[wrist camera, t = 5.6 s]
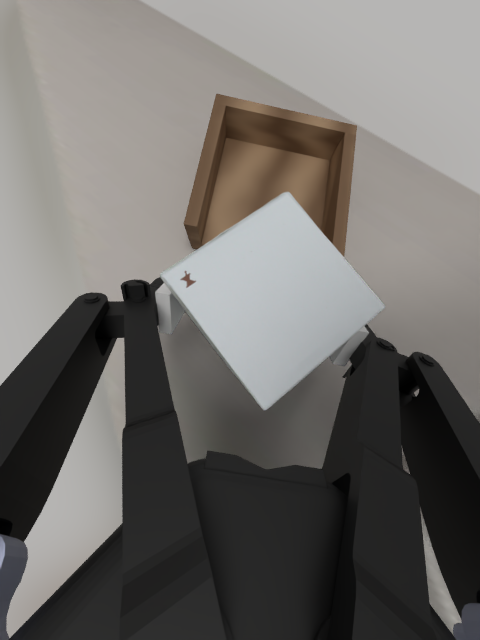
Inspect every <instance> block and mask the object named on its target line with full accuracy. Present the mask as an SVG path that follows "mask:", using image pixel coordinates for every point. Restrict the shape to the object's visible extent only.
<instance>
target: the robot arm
mask: <svg viewBox="0 0 480 640" xmlns="http://www.w3.org/2000/svg"><path fill="white" fill-rule="evenodd" d="M121 290H122V294H123V299H124V301H121V302H108V298H107V296H106V295H104V294H102V293H87V294H84V295H81V296H79V297H78V298H77V299H75V301H74V302H73V303H72V304H71V305H70V306H69V308H68V309H67V310H66V311H65V312H64V313H63V314H62V316H61V317H60V318H59V319H58V320H57V321H56V322H55V324H54V325H53V326H52V327H51V328H50V329H49V331H48V332H47V333H46V334H45V335H44V336H43V337H42V339H41V340H40V341H39V342H38V343H37V344H36V345H35V347H34V348H33V349H32V350H31V351H30V352H29V353H28V355H27V356H26V357H25V358H24V359H23V360H22V362H21V363H20V364H19V365H18V366H17V367H16V368H15V370H14V371H13V372H12V373H11V374H10V375H9V377H8V378H7V379H6V380H5V381H4V382H3V383H2V385H1V386H0V640H480V424H479V422H478V421H477V419H476V418H475V416H474V415H473V413H472V412H471V410H470V409H469V407H468V406H467V404H466V403H465V401H464V400H463V398H462V397H461V395H460V394H459V392H458V391H457V389H456V388H455V386H454V385H453V383H452V382H451V380H450V379H449V378H448V376H447V375H446V373H445V372H444V370H443V369H442V367H441V366H440V365H439V363H438V362H437V361H435V360H434V359H433V358H432V357H430V356H428V355H425V354H423V353H420V352H414V353H413V354H412V355H411V356H410V357H407V356H404V355H401V354H399V353H397V350H396V348H395V347H394V346H393V345H392V344H391V343H390V342H388V341H386V340H384V339H381V338H377V337H376V336H375V334H374V333H373V332H372V330H371V329H370V328H369V326H368V325H367V324H366V325H365V326H364V327H363V328H362V329H360V330H359V331H358V332H357V333H356V334H355V335H354V336H352V337H351V338H350V339H349V340H348V341H347V342H346V343H344V344H343V345H342V346H341V347H340V348H339V349H338V350H336V351H335V352H334V353H333V354H332V355H331V356H330V358H331V361H332V363H333V364H336V365H342V366H345V365H346V363H347V362H348V361H349V359H350V361H351V363H352V365H351V367H350V368H349V369H348V370H347V372H346V373H345V374H344V376H343V378H345V377H346V376H347V377H346V381H345V384H344V388H343V392H342V396H341V400H340V403H339V407H338V411H337V415H336V419H335V422H334V426H333V430H332V434H331V438H330V441H329V445H328V449H327V453H326V457H325V460H324V464H323V467H322V469H317V468H311V467H304V466H298V465H292V466H287V467H281V468H275V469H269V470H267V469H263V468H261V467H259V466H257V465H255V464H253V463H251V462H249V461H247V460H245V459H243V458H241V457H239V456H236V455H231V454H225V453H219V452H212V451H207V456H206V459H200V460H196V461H193V462H190V463H188V464H187V460H186V455H185V450H184V446H183V441H182V436H181V432H180V427H179V422H178V418H177V414H176V411H175V410H174V406H173V401H172V396H171V391H170V386H169V381H168V376H167V372H166V367H165V362H164V357H163V352H162V347H161V342H160V338H159V333H158V328H157V326H159V332H161V333H167V334H172V333H173V331H174V329H175V328H176V326H177V324H178V323H179V321H180V319H181V317H182V316H183V314H184V312H185V310H184V309H183V307H182V306H181V305H180V303H179V302H178V301H177V299H176V298H175V297H174V295H173V294H172V293H171V291H170V290H169V288H168V287H167V286H166V284H165V283H164V282H163V280H162V279H161V277H160V278H157V279H155V280H154V281H153V282H152V283H151V284H149V283H148V282H146V281H143V280H129V281H126V282H124V283H122V285H121ZM117 338H124V342H125V402H126V425H125V428H124V429H123V436H122V464H123V465H122V470H123V471H122V476H123V477H122V478H123V479H122V484H123V485H122V494H123V523H122V524H121V525H120V526H119V527H118V529H116V530H115V532H113V534H112V535H111V536H110V537H109V538H108V539H107V540H106V541H105V542H104V543H103V544H102V545H101V546H100V547H99V548H98V549H97V550H96V551H95V552H94V553H93V554H92V555H91V556H90V557H89V558H88V559H87V560H86V561H85V562H84V563H83V564H82V565H81V566H80V567H79V568H78V569H77V570H76V571H75V572H74V573H73V574H72V575H71V576H70V577H69V578H68V579H67V581H66V582H65V583H64V584H63V585H62V586H61V587H60V588H59V589H58V590H57V591H56V592H55V593H54V594H53V595H52V596H51V597H50V598H49V599H48V600H47V601H46V602H45V603H44V604H43V605H42V606H41V607H40V608H39V609H38V610H37V611H36V612H35V613H34V614H33V615H32V616H31V617H30V618H29V619H28V621H26V622H25V623H24V624H23V625H22V627H20V628H19V629H18V631H17V632H16V633H15V634H14V635H13V636H12V637H11V638H10V639H9V636H8V634H7V631H6V617H7V613H8V609H9V605H10V601H11V599H12V597H13V595H14V592H15V590H16V588H17V587H18V585H19V583H20V582H21V579H22V576H23V573H24V570H25V567H26V563H27V559H28V555H27V554H28V552H27V547H26V545H25V543H24V541H25V539H26V538H27V536H28V534H29V532H30V531H31V529H32V527H33V525H34V524H35V522H36V520H37V518H38V517H39V515H40V513H41V511H42V509H43V507H44V505H45V503H46V501H47V499H48V497H49V495H50V493H51V490H52V488H53V486H54V483H55V481H56V479H57V477H58V474H59V472H60V470H61V467H62V465H63V463H64V460H65V458H66V456H67V453H68V451H69V449H70V446H71V444H72V442H73V439H74V437H75V435H76V432H77V430H78V428H79V425H80V423H81V421H82V419H83V416H84V414H85V412H86V409H87V407H88V405H89V402H90V400H91V398H92V395H93V393H94V390H95V388H96V386H97V384H98V381H99V379H100V377H101V374H102V372H103V370H104V367H105V365H106V363H107V360H108V358H109V356H110V353H111V351H112V349H113V346H114V344H115V342H116V339H117ZM418 389H419V394H418V395H417V397H416V396H415V394H414V392H415V391H416V390H418ZM401 445H402V446H401ZM402 448H403V451H404V455H405V458H406V461H407V464H408V468H409V471H410V474H411V475H410V474H409V473H407V472H406V471H404V470H403V466H402ZM420 507H421V511H422V514H423V517H424V521H425V524H426V527H427V531H428V534H429V537H430V541H431V544H432V547H433V550H434V553H435V556H436V559H437V562H438V565H439V568H440V571H441V573H442V576H443V578H444V581H445V583H446V585H447V588H448V590H449V593H450V595H451V598H452V600H453V602H454V604H455V606H456V609H457V611H458V613H459V615H460V617H461V620H462V623H456V624H454V627H453V634H454V636H453V634H452V633H451V632H450V630H449V629H448V628H447V626H446V625H445V624H444V622H443V621H442V620H441V618H440V617H439V616H438V614H437V613H436V612H435V610H434V609H433V608H432V606H431V605H430V604H429V595H428V585H427V575H426V564H425V554H424V544H423V534H422V524H421V514H420Z"/></svg>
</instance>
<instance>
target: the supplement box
mask: <svg viewBox="0 0 480 640" xmlns="http://www.w3.org/2000/svg"><path fill="white" fill-rule="evenodd" d="M160 277H161V279H162V280H163V282H164V283H165V284H166V286H167V287H168V288H169V290H170V291H171V293H172V294H173V295H174V297H175V298H176V299H177V301H178V302H179V303H180V305H181V306H182V307H183V309H184V310H185V311H186V313H187V314H188V316H189V317H190V318H191V320H192V321H193V322H194V324H195V325H196V326H197V328H198V329H199V330H200V332H201V333H202V334H203V336H204V337H205V338H206V339H207V341H208V342H209V343H210V345H211V346H212V347H213V348H214V350H215V351H216V352H217V354H218V355H219V356H220V357H221V359H222V360H223V361H224V362H225V364H226V365H227V366H228V368H229V369H230V370H231V371H232V372H233V374H234V375H235V376H236V377H237V379H238V380H239V381H240V382H241V384H242V385H243V386H244V387H245V388H246V390H247V391H248V392H249V393H250V395H251V396H252V397H253V398H254V400H255V401H256V402H257V403H258V405H259V406H260V407H261V408H262V409H263V410H267V409H268V408H270V407H271V406H272V405H273V404H274V403H276V402H277V401H278V400H279V399H280V398H282V397H283V396H284V395H285V394H286V393H287V392H289V391H290V390H291V389H292V388H293V387H295V386H296V385H297V384H298V383H299V382H300V381H302V380H303V379H304V378H305V377H306V376H307V375H308V374H310V373H311V372H312V371H313V370H314V369H315V368H317V367H318V366H319V365H320V364H321V363H322V362H324V361H325V360H326V359H327V358H328V357H329V356H331V355H332V354H333V353H334V352H335V351H336V350H338V349H339V348H340V347H341V346H342V345H343V344H344V343H346V342H347V341H348V340H349V339H350V338H351V337H352V336H354V335H355V334H356V333H357V332H358V331H359V330H360V329H362V328H363V327H364V326H365V325H366V324H367V323H368V322H370V321H371V320H372V319H373V318H374V317H375V316H376V315H377V314H379V313H380V312H381V311H382V310H384V308H385V305H384V304H383V303H382V301H381V300H380V299H379V298H378V297H377V295H376V294H375V293H374V292H373V291H372V289H371V288H370V287H369V286H368V285H367V284H366V282H365V281H364V280H363V279H362V278H361V277H360V275H359V274H358V273H357V272H356V271H355V270H354V269H353V267H352V266H351V265H350V264H349V263H348V261H347V260H346V259H345V258H344V257H343V256H342V254H341V253H340V252H339V251H338V250H337V249H336V247H335V246H334V245H333V244H332V243H331V242H330V241H329V240H328V238H327V237H326V236H325V235H324V234H323V233H322V232H321V230H320V229H319V228H318V227H317V225H316V224H315V223H314V222H313V220H312V219H311V218H310V217H309V215H308V214H307V213H306V212H305V211H304V209H303V208H302V207H301V206H300V204H299V203H298V202H297V201H296V200H295V198H294V197H293V196H292V194H291V193H290V192H285V193H282V194H280V195H279V196H278V197H276V198H274V199H273V200H271V201H270V202H268V203H267V204H266V205H264V206H263V207H261V208H260V209H258V210H256V211H255V212H253V213H252V214H250V215H249V216H247V217H246V218H244V219H243V220H241V221H240V222H238V223H237V224H235V225H234V226H232V227H230V228H229V229H227V230H225V231H224V232H222V233H221V234H219V235H218V236H217V237H215V238H214V239H212V240H211V241H209V242H208V243H206V244H205V245H203V246H202V247H200V248H199V249H197V250H196V251H194V252H193V253H191V254H190V255H188V256H187V257H185V258H183V259H182V260H180V261H179V262H177V263H176V264H174V265H173V266H171V267H170V268H168V269H166V270H164V271H163V272H162V273H161V274H160Z"/></svg>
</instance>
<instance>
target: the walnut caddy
mask: <svg viewBox="0 0 480 640" xmlns="http://www.w3.org/2000/svg"><path fill="white" fill-rule="evenodd" d="M356 130H357V126H356V125H352V124H347V123H343V122H339V121H334V120H330V119H325V118H321V117H317V116H312V115H308V114H303V113H299V112H295V111H290V110H286V109H281V108H277V107H273V106H268V105H264V104H259V103H255V102H251V101H246V100H242V99H237V98H233V97H229V96H224V95H220V94H216V97H215V101H214V105H213V109H212V113H211V117H210V121H209V125H208V129H207V133H206V137H205V141H204V145H203V149H202V153H201V157H200V161H199V165H198V169H197V173H196V177H195V181H194V185H193V189H192V193H191V197H190V201H189V205H188V209H187V213H186V217H185V221H184V226H185V229H186V232H187V235H188V237H189V240H190V243H191V246H192V248H194V249H199V248H200V247H202V246H203V245H205V244H206V243H208V242H209V241H211V240H212V239H214V238H215V237H217V236H218V235H219V234H221V233H222V232H224V231H225V230H227V229H229V228H230V227H232V226H234V225H235V224H237V223H238V222H240V221H241V220H243V219H244V218H246V217H247V216H249V215H250V214H252V213H253V212H255V211H256V210H258V209H260V208H261V207H263V206H264V205H266V204H267V203H268V202H270V201H271V200H273V199H274V198H276V197H278V196H279V195H280V194H282V193H285V192H290V193H291V194H292V196H293V197H294V198H295V200H296V201H297V202H298V203H299V204H300V206H301V207H302V208H303V209H304V211H305V212H306V213H307V214H308V215H309V217H310V218H311V219H312V220H313V222H314V223H315V224H316V225H317V227H318V228H319V229H320V230H321V232H322V233H323V234H324V235H325V236H326V237H327V238H328V240H329V241H330V242H331V243H332V244H333V245H334V246H335V247H336V249H337V250H338V251H339V252H340V253H341V254H342V256H343V257H344V252H345V242H346V232H347V222H348V212H349V202H350V191H351V181H352V171H353V161H354V151H355V141H356Z"/></svg>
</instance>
